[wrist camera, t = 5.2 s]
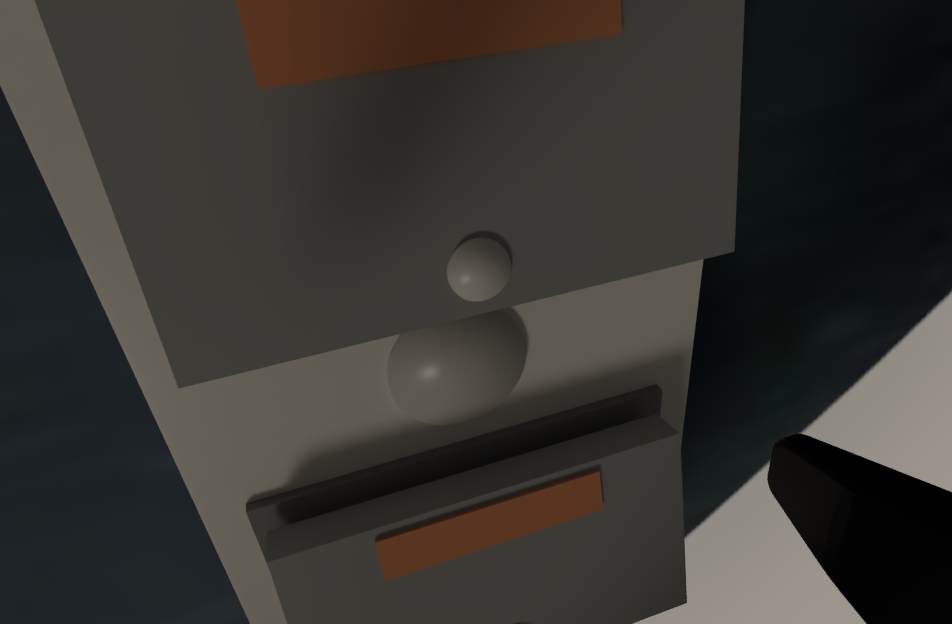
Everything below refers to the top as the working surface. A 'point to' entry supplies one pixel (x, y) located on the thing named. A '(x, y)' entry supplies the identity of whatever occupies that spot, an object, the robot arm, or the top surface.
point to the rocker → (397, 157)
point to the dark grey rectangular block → (503, 541)
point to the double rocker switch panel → (356, 366)
